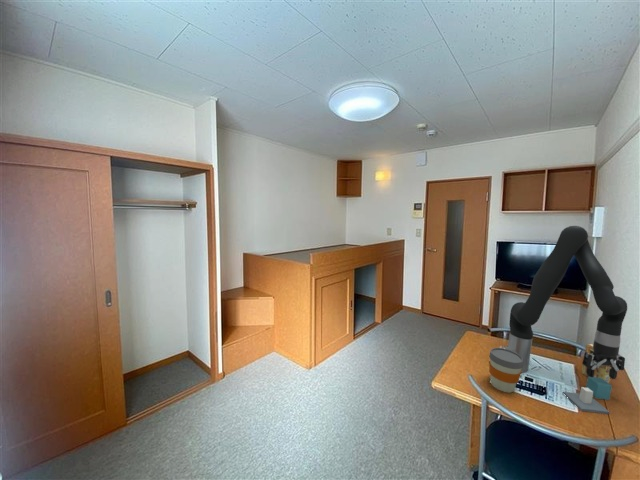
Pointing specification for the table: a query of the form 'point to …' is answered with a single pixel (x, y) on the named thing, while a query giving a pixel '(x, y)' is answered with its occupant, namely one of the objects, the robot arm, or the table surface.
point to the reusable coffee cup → (505, 369)
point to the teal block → (599, 387)
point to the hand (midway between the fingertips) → (601, 377)
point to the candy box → (598, 371)
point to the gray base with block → (586, 401)
